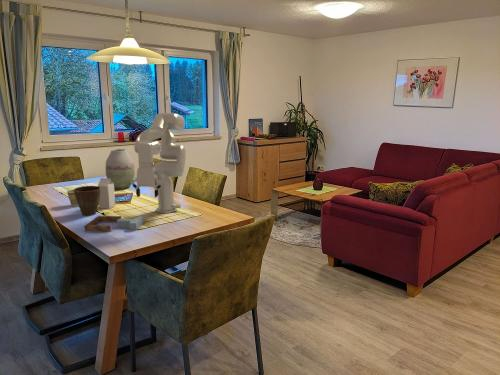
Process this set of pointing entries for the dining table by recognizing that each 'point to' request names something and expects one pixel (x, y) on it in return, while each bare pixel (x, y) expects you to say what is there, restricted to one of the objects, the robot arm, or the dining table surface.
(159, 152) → the robot arm
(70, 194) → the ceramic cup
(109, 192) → the milk carton
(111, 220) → the corral
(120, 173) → the vase
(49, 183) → the dining table surface
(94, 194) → the plant pot
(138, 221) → the t block
